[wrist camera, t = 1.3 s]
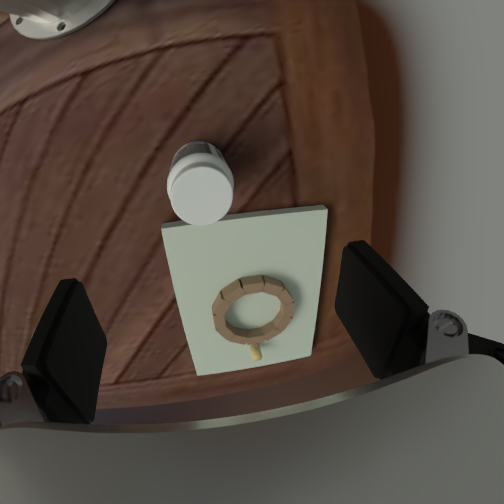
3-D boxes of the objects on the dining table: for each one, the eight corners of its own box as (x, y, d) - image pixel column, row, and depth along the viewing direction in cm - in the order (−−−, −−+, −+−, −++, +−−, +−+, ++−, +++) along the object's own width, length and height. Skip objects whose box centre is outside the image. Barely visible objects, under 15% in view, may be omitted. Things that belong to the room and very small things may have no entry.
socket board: (162, 223, 27) (159, 238, 24) (322, 204, 29) (336, 217, 27) (197, 368, 38) (198, 387, 35) (307, 349, 41) (315, 365, 38)
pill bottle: (163, 180, 25) (153, 217, 18) (184, 132, 23) (180, 148, 16) (211, 198, 27) (220, 241, 20) (233, 153, 25) (252, 178, 18)
